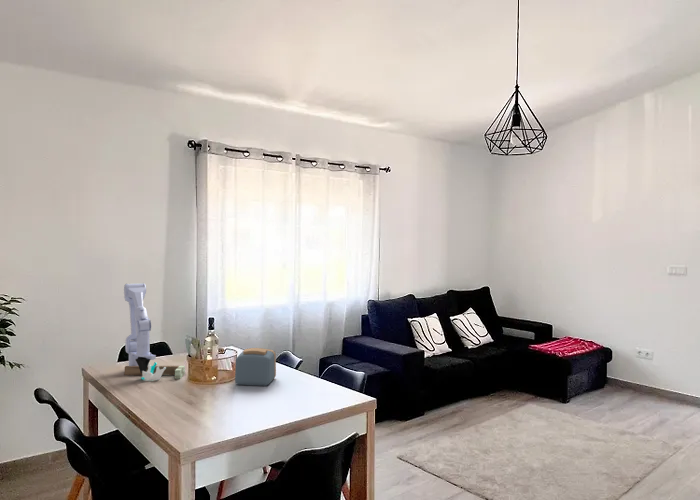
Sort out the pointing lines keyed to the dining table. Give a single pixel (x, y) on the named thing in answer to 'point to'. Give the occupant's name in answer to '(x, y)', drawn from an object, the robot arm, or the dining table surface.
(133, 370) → the cleat board
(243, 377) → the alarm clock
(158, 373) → the jawbone
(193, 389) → the dining table surface
